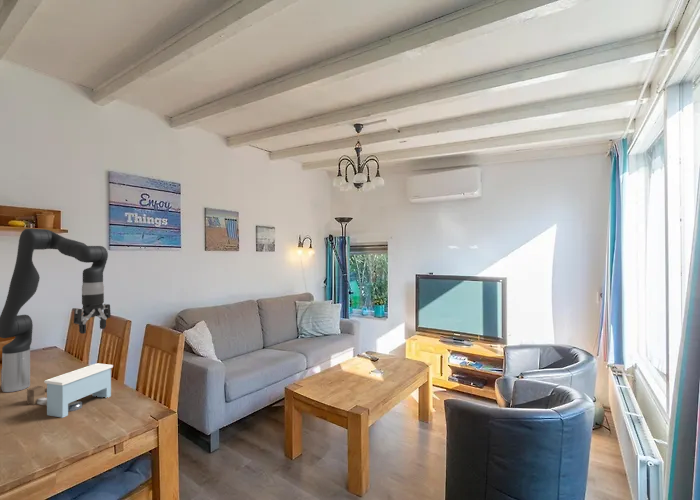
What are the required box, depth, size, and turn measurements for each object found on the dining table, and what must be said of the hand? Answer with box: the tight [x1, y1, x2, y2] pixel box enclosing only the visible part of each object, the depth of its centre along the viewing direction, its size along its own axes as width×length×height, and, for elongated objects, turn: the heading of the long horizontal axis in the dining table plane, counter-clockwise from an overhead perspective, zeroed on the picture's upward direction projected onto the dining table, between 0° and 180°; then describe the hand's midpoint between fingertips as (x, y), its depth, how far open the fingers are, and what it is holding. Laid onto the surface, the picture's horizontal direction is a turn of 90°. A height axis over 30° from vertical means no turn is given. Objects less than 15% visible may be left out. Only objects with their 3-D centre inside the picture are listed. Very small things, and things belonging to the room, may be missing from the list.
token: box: [68, 400, 83, 412], centre depth 140 cm, size 5×5×2 cm
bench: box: [44, 362, 114, 418], centre depth 143 cm, size 9×21×14 cm, turn 165°
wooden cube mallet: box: [26, 385, 47, 407], centre depth 144 cm, size 16×4×6 cm, turn 75°
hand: (92, 331), depth 148 cm, fingers open, 8 cm apart
